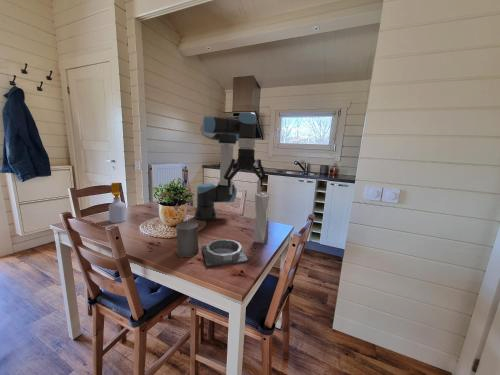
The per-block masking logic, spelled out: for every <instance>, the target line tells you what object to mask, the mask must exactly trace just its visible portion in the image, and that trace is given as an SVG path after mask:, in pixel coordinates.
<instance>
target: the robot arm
mask: <svg viewBox="0 0 500 375" xmlns="http://www.w3.org/2000/svg"><path fill="white" fill-rule="evenodd" d="M202 121H203V122H202V124H201V125H200V133H201V135H202V136H203V137H205V138H207V139H209V140H213V141H218V145H220V158H219V162H220V163H219V164H220V165H219V181H218V182H217V185H215V184H214V183H203V184H200V185H198V186H197V188H196V189H197V190H196V209H195V211H194V219H195V220H197V221H202V220H203V221H205V222H207V221H212V220H215V219H217V212H216V211H217V210H216V207H215V203H217V204H218V203H233V202H235V200H236V197H237V194H238V193H237V192H238V191H237V186H236V185H235V183H234V182H233V178H234V177H235V176H236V175H237V174H238V172H239V171H240V170H241V169H242V170H245V169H247V170H250V169H251V170H252V172H254V174H255V175H256V176H257V178H258V179H257V182H256V184H257V185H256V187H257V188H256V193H258V194H260V193H261V187H263V181H264V180H266V179H267V174H266V172H265V170H264V167H263V166H262V159H260V158H257V159H255V148H256V128H257V114H256V113H254V112H249V111H248V112H247V111H244V112H240V113H239V115H238V118H232V117H219V116H212V115H210V116H209V115H208V116H206V115H204V116H203V120H202ZM237 142H238V143H237ZM236 144H238V145H237V146H238V150H237V151H238V152H237V153H238V154H237V159H236V158H234V146H236ZM236 163H237V166H236V167H235V169H234V170H233V168H234V165H235V164H236ZM254 164H257V167H258V169H259V171H258V170H257V169H256V167H255V166H254ZM259 172H260V173H259Z"/></svg>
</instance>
